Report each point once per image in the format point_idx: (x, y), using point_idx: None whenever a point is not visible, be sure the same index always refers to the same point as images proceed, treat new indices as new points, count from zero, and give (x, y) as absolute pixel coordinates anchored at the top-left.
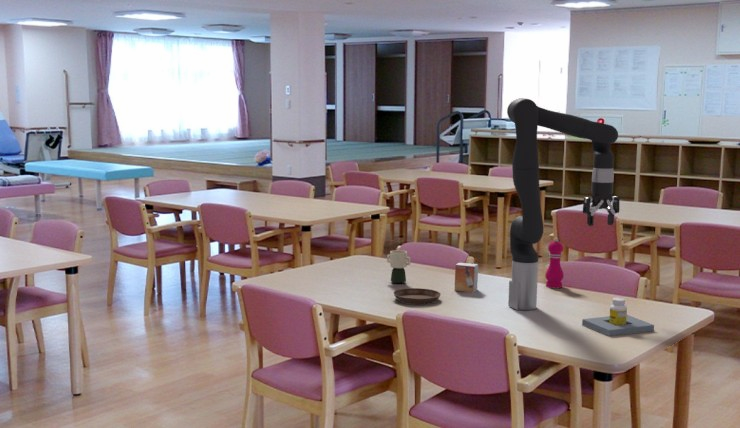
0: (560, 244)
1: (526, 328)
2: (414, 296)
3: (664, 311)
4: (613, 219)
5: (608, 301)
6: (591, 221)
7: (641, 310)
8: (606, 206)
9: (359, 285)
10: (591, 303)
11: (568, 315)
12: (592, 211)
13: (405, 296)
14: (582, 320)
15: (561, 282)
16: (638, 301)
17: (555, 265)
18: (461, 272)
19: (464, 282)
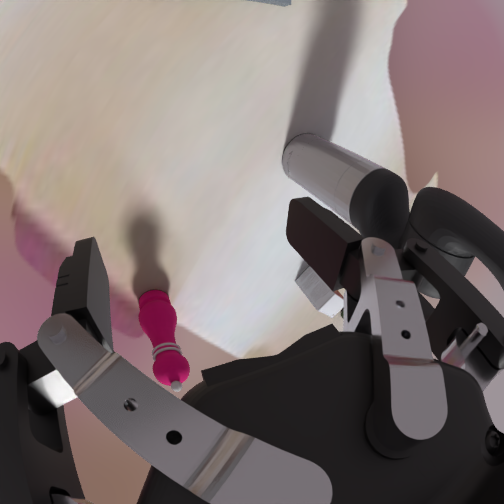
0: (166, 372)
1: (372, 46)
2: None
3: (16, 63)
4: (61, 283)
5: (89, 169)
6: (326, 217)
7: (59, 73)
8: (225, 402)
9: None
10: (141, 154)
11: (263, 71)
12: (396, 267)
13: None
14: (289, 4)
15: (142, 304)
16: (21, 164)
17: (165, 329)
18: (337, 291)
19: None
